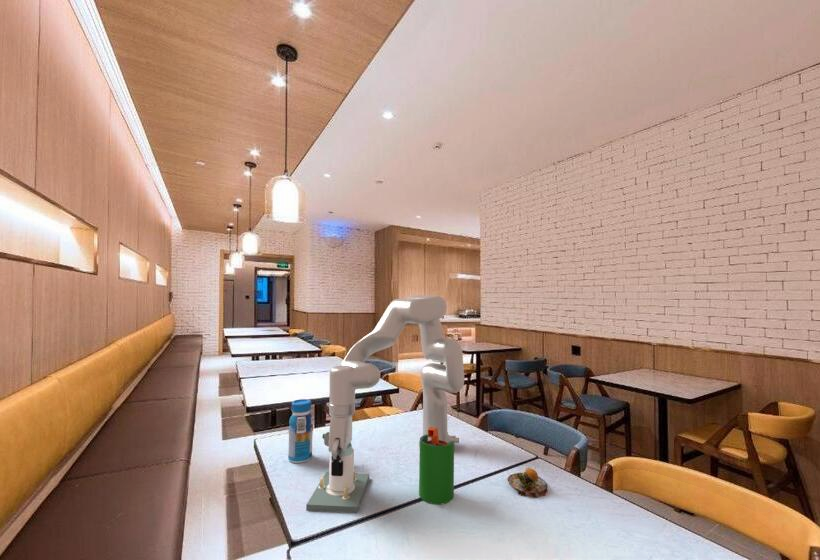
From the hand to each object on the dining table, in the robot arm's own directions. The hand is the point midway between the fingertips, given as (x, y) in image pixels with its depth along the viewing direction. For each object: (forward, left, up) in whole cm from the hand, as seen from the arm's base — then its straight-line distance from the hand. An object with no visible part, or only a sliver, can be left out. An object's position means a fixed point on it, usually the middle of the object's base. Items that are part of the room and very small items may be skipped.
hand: (341, 467), depth 105 cm
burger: (-56, -8, -8) cm, 57 cm away
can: (0, 0, -6) cm, 6 cm away
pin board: (0, 0, -7) cm, 7 cm away
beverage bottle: (+20, -21, -8) cm, 30 cm away
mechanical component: (+6, -18, -8) cm, 20 cm away
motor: (-28, -1, -8) cm, 29 cm away
